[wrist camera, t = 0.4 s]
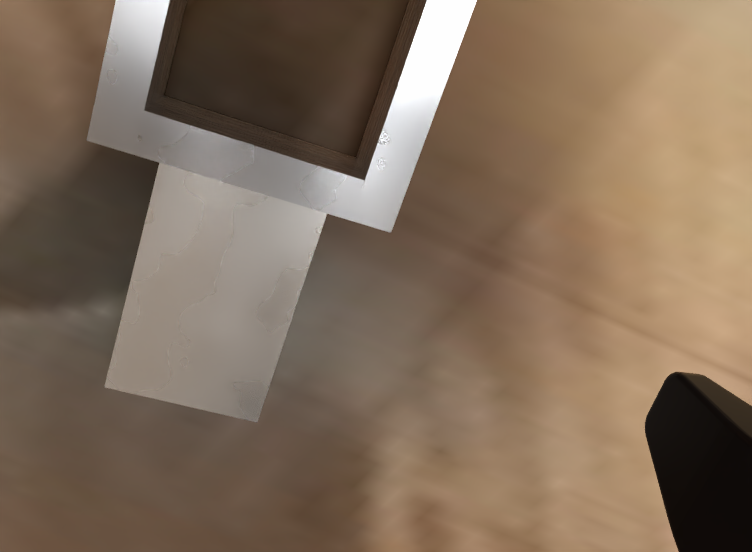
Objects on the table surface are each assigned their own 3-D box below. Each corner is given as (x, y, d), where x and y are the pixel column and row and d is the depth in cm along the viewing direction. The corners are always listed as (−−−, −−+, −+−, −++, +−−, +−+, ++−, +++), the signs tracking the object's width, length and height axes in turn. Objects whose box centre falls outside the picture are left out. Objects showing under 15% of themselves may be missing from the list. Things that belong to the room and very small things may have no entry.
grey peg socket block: (305, 409, 25) (306, 460, 22) (63, 352, 23) (32, 400, 21) (595, -403, 18) (652, -478, 15) (269, -583, 16) (263, -707, 13)
